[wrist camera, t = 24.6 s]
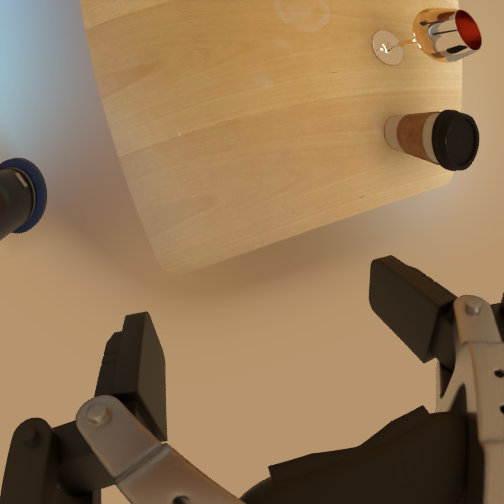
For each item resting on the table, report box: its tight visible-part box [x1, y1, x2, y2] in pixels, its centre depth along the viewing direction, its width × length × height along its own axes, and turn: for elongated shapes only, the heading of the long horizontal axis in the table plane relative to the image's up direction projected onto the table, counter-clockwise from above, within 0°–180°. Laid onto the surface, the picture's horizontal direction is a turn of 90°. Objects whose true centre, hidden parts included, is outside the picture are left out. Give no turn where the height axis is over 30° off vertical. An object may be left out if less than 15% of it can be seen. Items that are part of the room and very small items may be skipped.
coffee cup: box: [384, 110, 479, 171], centre depth 37 cm, size 8×8×15 cm
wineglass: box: [372, 8, 482, 65], centre depth 30 cm, size 8×8×18 cm
